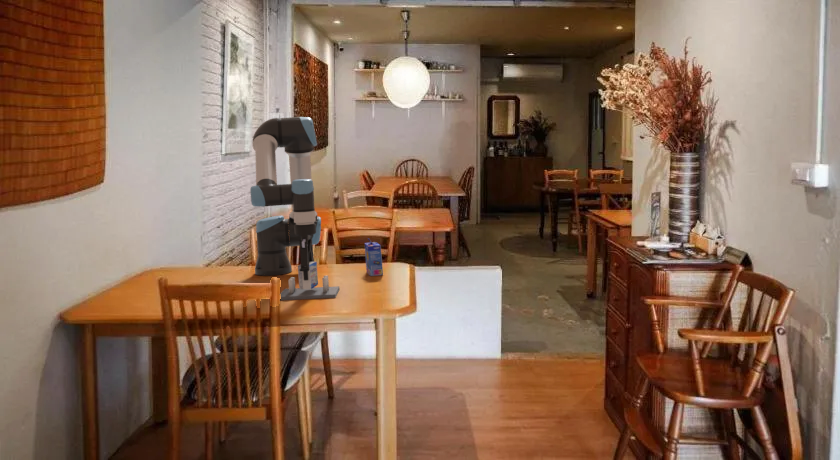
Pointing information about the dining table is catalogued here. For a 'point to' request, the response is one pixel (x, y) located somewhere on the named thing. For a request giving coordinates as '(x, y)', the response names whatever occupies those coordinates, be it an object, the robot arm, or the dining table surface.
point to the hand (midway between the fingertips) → (308, 286)
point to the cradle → (309, 291)
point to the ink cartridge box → (373, 258)
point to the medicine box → (312, 275)
